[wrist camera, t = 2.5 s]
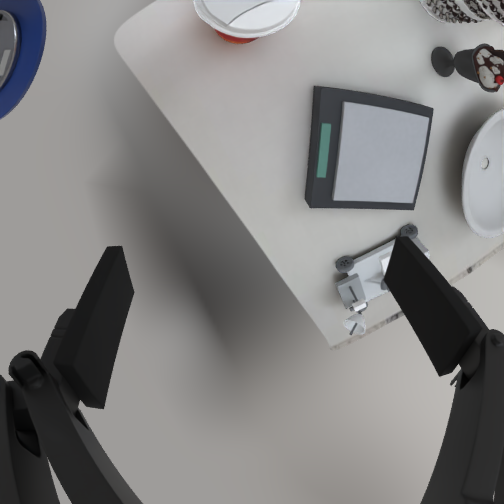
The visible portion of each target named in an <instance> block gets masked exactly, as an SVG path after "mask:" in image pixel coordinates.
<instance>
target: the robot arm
mask: <svg viewBox="0 0 504 504" xmlns="http://www.w3.org/2000/svg"><path fill="white" fill-rule="evenodd" d="M21 43H22V31H21V26H20V22H19V20H18V18H17V17H16V16H15V15H14V14H13V13H12V12H10V11H6V10H0V92H1V91H2V89H3V88H4V87H5V86H6V84H7V83H8V81H9V79H10V78H11V76H12V74H13V72H14V69H15V67H16V64H17V62H18V58H19V54H20V50H21ZM383 281H384V282H385V284H386V285H387V287H388V288H389V290H390V292H391V293H392V295H393V296H394V298H395V300H396V301H397V303H398V304H399V306H400V308H401V309H402V311H403V313H404V314H405V316H406V318H407V319H408V321H409V323H410V324H411V326H412V328H413V330H414V331H415V333H416V335H417V336H418V338H419V340H420V342H421V344H422V345H423V347H424V349H425V351H426V353H427V354H428V356H429V358H430V360H431V362H432V363H433V365H434V367H435V369H436V371H437V373H438V375H439V376H443V375H446V374H449V373H452V372H453V370H454V369H455V368H456V366H457V365H458V364H459V365H460V367H461V370H460V371H459V372H458V374H457V375H456V376H455V377H454V379H453V380H452V381H451V383H450V385H453V383H454V382H455V381H456V380H457V383H456V385H455V387H456V389H455V394H454V399H453V403H452V408H451V413H450V417H449V421H448V425H447V428H446V433H445V436H444V439H443V443H442V446H441V449H440V453H439V456H438V459H437V462H436V465H435V468H434V471H433V474H432V476H431V479H430V482H429V484H428V487H427V490H426V492H425V494H424V497H423V499H422V501H421V504H504V334H503V333H501V332H500V331H498V330H494V329H491V330H489V329H488V327H487V326H486V325H485V323H484V322H483V321H482V319H481V318H480V316H479V315H478V314H477V312H476V311H475V310H474V308H472V306H471V304H470V303H469V302H467V300H466V298H465V297H464V295H463V294H462V293H461V292H460V291H458V290H457V289H456V288H455V287H451V285H450V284H449V283H448V282H447V280H446V279H445V278H444V277H443V276H442V274H441V273H440V272H439V271H438V270H437V268H436V267H435V266H434V265H433V264H432V263H431V261H430V260H429V259H428V258H427V257H426V256H425V254H424V253H423V252H422V251H421V250H420V249H419V248H418V247H417V245H416V244H415V243H414V242H413V241H412V240H411V239H410V238H409V237H408V236H397V237H396V239H395V243H394V246H393V250H392V253H391V257H390V260H389V263H388V267H387V270H386V273H385V276H384V279H383ZM133 295H134V289H133V286H132V283H131V279H130V275H129V271H128V268H127V264H126V260H125V256H124V252H123V248H122V246H109V247H107V248H106V250H105V252H104V253H103V255H102V257H101V259H100V261H99V263H98V265H97V266H96V268H95V270H94V272H93V274H92V276H91V278H90V280H89V282H88V284H87V286H86V288H85V290H84V292H83V294H82V296H81V299H80V300H79V303H78V305H77V307H76V309H66V311H65V312H64V313H63V314H62V315H61V316H60V317H59V318H58V321H57V323H56V325H55V329H53V331H52V334H51V337H50V338H49V340H48V343H47V345H46V348H45V350H44V352H43V354H42V357H41V359H40V358H39V357H38V356H37V354H36V353H35V352H33V351H23V352H20V353H18V354H17V355H16V356H15V357H14V358H13V359H12V361H11V362H10V365H9V375H10V376H11V377H12V378H13V380H14V381H6V380H5V379H4V378H3V377H2V375H0V504H60V502H59V499H58V496H57V493H56V489H55V486H54V482H53V479H52V475H51V471H50V467H49V463H48V460H49V462H50V463H51V466H52V468H53V470H54V472H55V473H56V476H57V478H58V479H59V481H60V483H61V485H62V487H63V489H64V491H65V492H66V494H67V496H68V497H69V499H70V501H71V503H72V504H143V503H142V502H141V501H140V500H139V498H138V497H137V496H136V495H135V493H134V492H133V491H132V489H131V488H130V487H129V486H128V484H127V483H126V482H125V480H124V479H123V477H122V476H121V475H120V473H119V472H118V470H117V469H116V468H115V466H114V465H113V463H112V462H111V460H110V459H109V457H108V456H107V454H106V453H105V451H104V450H103V448H102V446H101V445H100V443H99V442H98V440H97V439H96V437H95V435H94V433H93V432H92V430H91V428H90V427H89V425H88V423H87V421H86V419H85V418H84V416H83V414H82V412H81V411H80V410H79V408H78V405H79V401H80V400H81V401H82V402H83V403H84V404H85V406H86V407H92V408H99V409H104V406H105V401H106V397H107V392H108V388H109V383H110V379H111V374H112V371H113V366H114V362H115V358H116V354H117V350H118V347H119V343H120V339H121V336H122V332H123V329H124V325H125V322H126V318H127V315H128V311H129V308H130V305H131V302H132V298H133ZM47 457H48V459H47ZM494 491H495V495H494ZM493 495H494V502H493Z"/></svg>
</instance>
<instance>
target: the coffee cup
mask: <svg viewBox="0 0 504 504" xmlns="http://www.w3.org/2000/svg"><path fill="white" fill-rule="evenodd" d="M300 2H301V0H193V3H194V7H195V10H196V12H197V14H198V15H199V17H200V18H201V19H202V20H203V21H205V22H206V23H208V24H209V25H210V26H212V27H213V28H214V29H215V31H216V32H217V34H218V35H219V36H220V37H221V38H223V39H224V40H226V41H228V42H231V43H235V44H243V43H248V42H251V41H253V40H255V39H257V38H259V37H263V36H267V35H270V34H273V33H275V32H277V31H279V30H281V29H282V28H284V27H285V26H286V25H288V24H289V23H290V22H291V21H292V20H293V18H294V17H295V15H296V14H297V12H298V10H299V7H300Z"/></svg>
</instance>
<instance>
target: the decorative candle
mask: <svg viewBox="0 0 504 504" xmlns="http://www.w3.org/2000/svg"><path fill="white" fill-rule="evenodd" d="M420 2H421V4H422V6H423V7H424V9H425V10H426V11H427V12H428V14H429V15H430V16H432V17H433V18H435V19H436V20H437V21H440V22H443V23H450V22H453V23H456V20H458V21H459V23H462V22H464V21H465V22H467V23H470V22H471V21H473V22H474V23H477V22H478V21H480V22H481V21H484V20H490V19H492V20H495V21H497V22H499V23H504V0H420Z"/></svg>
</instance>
